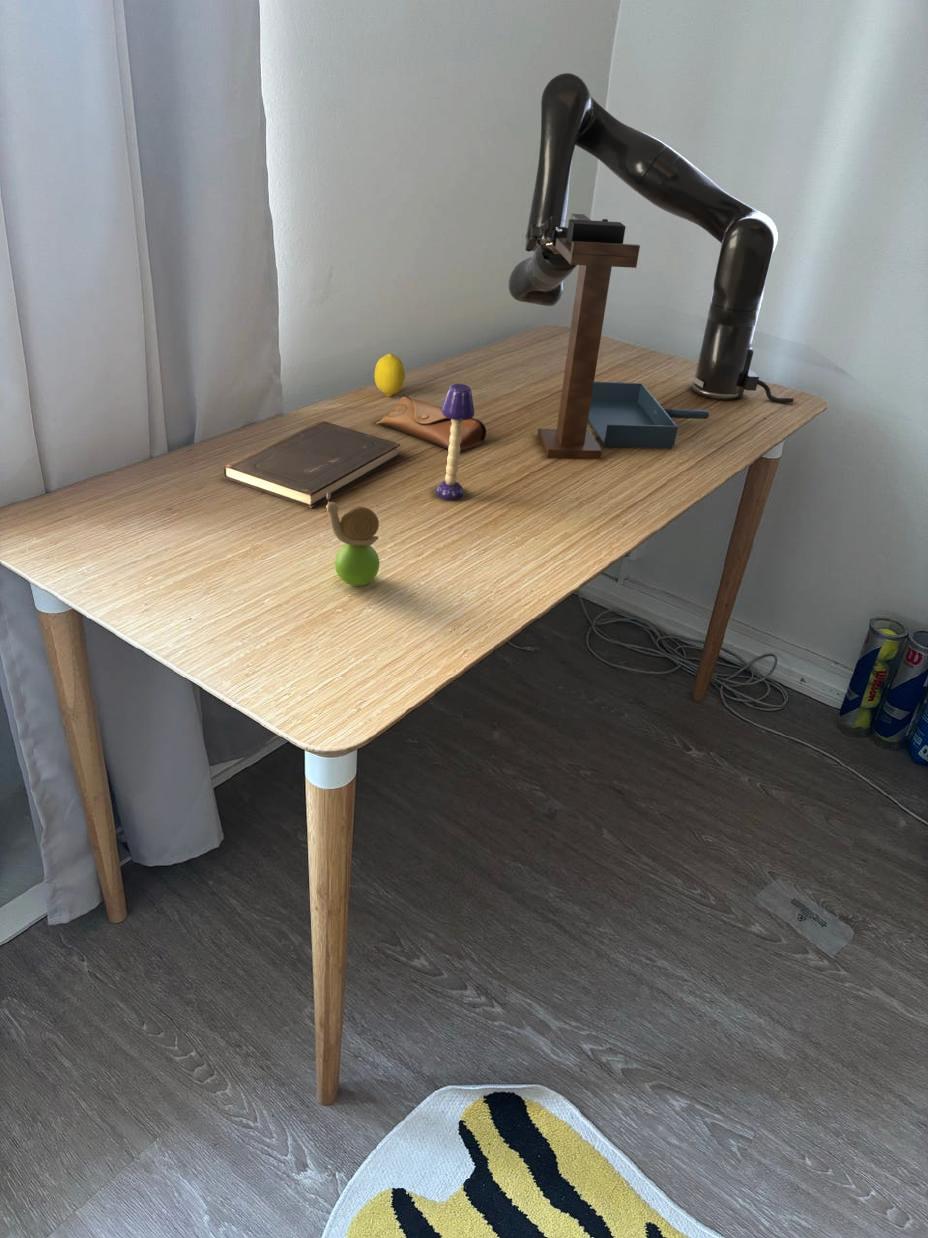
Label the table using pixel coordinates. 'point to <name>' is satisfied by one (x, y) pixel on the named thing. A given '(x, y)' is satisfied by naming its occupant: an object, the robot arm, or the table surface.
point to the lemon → (389, 374)
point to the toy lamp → (455, 437)
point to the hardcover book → (313, 463)
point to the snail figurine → (355, 543)
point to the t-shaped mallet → (594, 230)
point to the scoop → (634, 416)
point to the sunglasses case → (431, 424)
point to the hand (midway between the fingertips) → (580, 223)
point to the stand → (584, 344)
